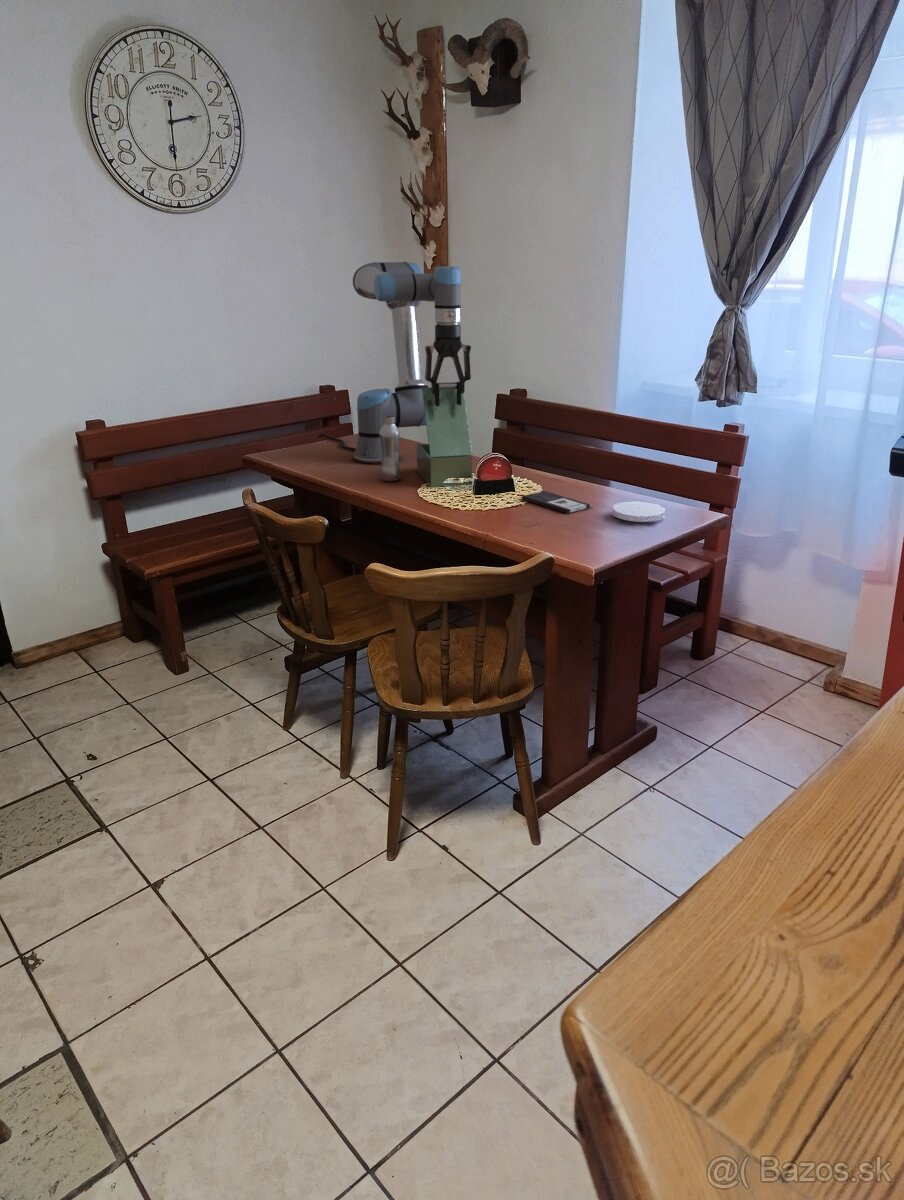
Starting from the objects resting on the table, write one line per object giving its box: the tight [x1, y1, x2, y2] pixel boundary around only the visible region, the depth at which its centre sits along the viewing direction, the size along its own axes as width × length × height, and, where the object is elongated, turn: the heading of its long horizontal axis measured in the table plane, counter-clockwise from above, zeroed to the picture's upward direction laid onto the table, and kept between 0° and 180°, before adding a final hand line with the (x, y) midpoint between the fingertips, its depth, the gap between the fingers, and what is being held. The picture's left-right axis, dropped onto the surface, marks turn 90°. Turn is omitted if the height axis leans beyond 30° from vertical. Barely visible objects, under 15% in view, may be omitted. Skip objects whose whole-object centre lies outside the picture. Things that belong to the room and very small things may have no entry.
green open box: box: [416, 443, 473, 488], centre depth 257 cm, size 21×13×9 cm, turn 14°
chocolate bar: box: [521, 490, 590, 514], centre depth 231 cm, size 9×1×18 cm
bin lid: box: [422, 381, 473, 458], centre depth 244 cm, size 22×13×8 cm
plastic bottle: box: [379, 415, 402, 482], centre depth 251 cm, size 6×7×20 cm
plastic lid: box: [611, 501, 667, 523], centre depth 218 cm, size 14×14×2 cm
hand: (448, 404), depth 244 cm, fingers closed on bin lid, 6 cm apart
